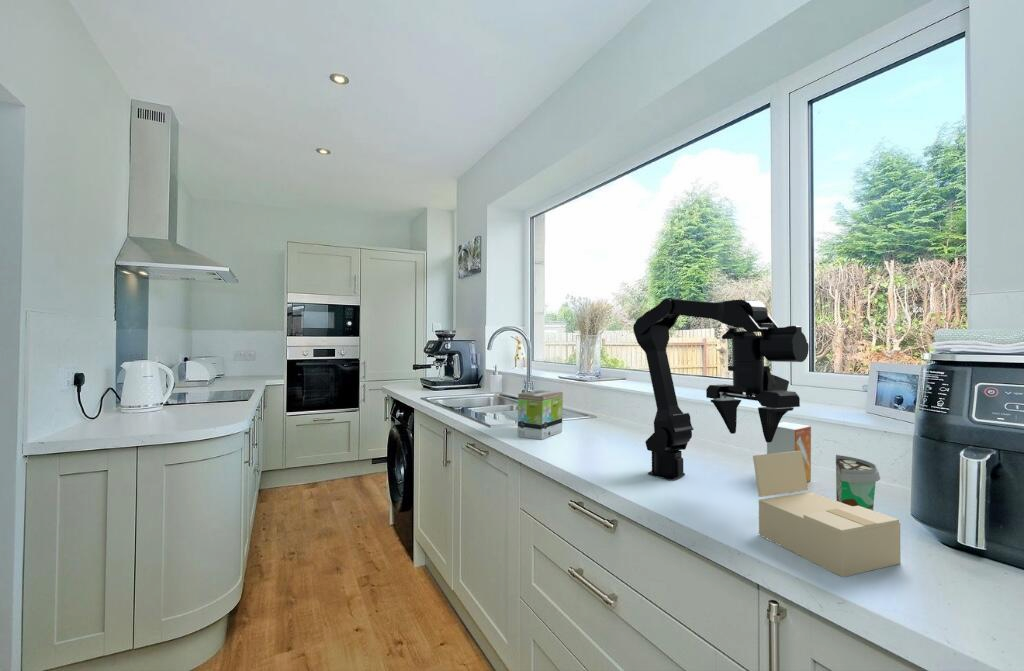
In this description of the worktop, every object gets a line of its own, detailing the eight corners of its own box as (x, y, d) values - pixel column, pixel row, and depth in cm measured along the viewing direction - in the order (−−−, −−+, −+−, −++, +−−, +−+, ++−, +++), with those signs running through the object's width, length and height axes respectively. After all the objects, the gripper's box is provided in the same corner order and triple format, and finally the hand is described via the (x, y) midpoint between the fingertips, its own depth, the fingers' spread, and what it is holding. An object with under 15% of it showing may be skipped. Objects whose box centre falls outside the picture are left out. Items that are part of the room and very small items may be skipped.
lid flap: (761, 496, 76) (758, 496, 77) (808, 490, 79) (805, 489, 80) (755, 455, 77) (752, 455, 78) (801, 450, 80) (798, 450, 81)
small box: (795, 487, 99) (795, 429, 100) (766, 480, 105) (765, 424, 105) (812, 481, 104) (811, 425, 104) (783, 474, 109) (783, 421, 109)
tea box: (542, 440, 145) (542, 395, 146) (516, 437, 151) (516, 393, 151) (563, 432, 158) (563, 390, 158) (538, 429, 164) (538, 389, 164)
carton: (758, 534, 76) (758, 496, 76) (811, 525, 79) (811, 488, 79) (842, 577, 62) (842, 530, 62) (900, 563, 66) (900, 519, 66)
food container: (886, 533, 76) (886, 475, 76) (841, 525, 79) (841, 469, 80) (874, 509, 87) (874, 458, 87) (835, 503, 90) (835, 454, 90)
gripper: (821, 361, 84) (823, 444, 84) (744, 359, 102) (746, 427, 102) (774, 362, 81) (776, 448, 81) (703, 360, 99) (705, 430, 99)
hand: (750, 437), depth 91 cm, fingers open, 9 cm apart
